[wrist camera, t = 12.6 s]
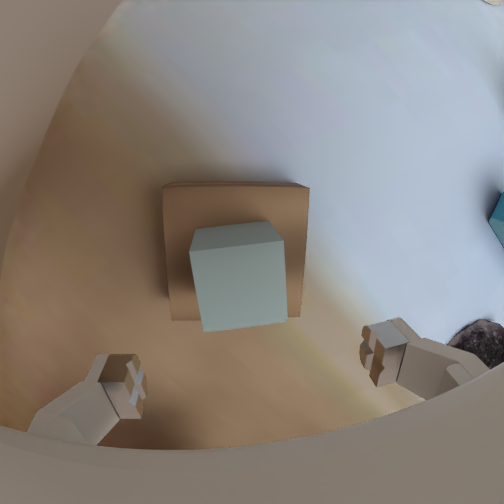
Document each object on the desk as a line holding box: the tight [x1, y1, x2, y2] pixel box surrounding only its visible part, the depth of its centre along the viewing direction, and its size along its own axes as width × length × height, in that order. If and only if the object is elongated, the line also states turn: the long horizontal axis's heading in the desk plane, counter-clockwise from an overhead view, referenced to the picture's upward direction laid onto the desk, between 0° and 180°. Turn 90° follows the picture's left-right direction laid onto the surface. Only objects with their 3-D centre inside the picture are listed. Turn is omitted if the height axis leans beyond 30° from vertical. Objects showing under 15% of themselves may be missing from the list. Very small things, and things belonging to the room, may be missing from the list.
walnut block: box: [162, 182, 310, 320], centre depth 23 cm, size 10×10×4 cm
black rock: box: [448, 320, 504, 370], centre depth 30 cm, size 13×14×10 cm
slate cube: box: [189, 221, 288, 332], centre depth 19 cm, size 5×5×5 cm
